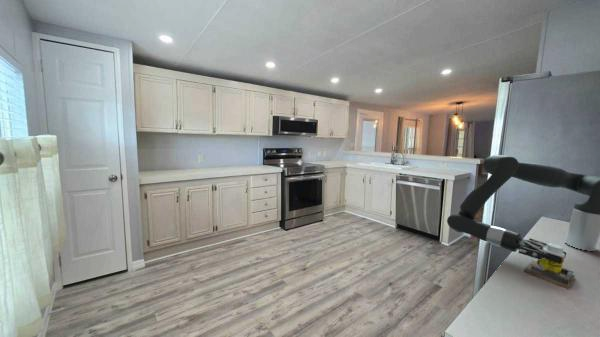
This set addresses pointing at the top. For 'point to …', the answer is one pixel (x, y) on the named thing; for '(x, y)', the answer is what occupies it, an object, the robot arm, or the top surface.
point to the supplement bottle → (550, 265)
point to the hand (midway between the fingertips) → (563, 258)
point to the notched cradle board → (551, 275)
